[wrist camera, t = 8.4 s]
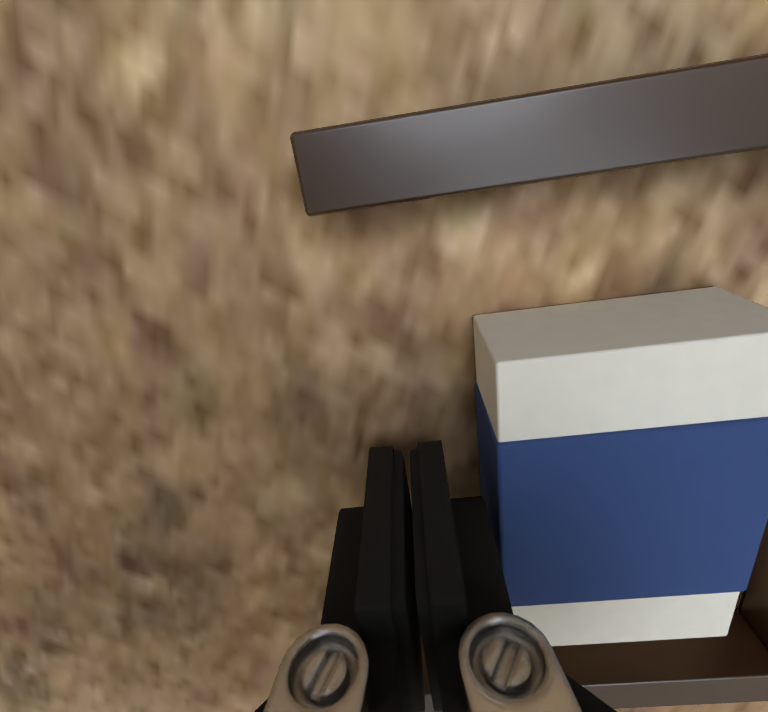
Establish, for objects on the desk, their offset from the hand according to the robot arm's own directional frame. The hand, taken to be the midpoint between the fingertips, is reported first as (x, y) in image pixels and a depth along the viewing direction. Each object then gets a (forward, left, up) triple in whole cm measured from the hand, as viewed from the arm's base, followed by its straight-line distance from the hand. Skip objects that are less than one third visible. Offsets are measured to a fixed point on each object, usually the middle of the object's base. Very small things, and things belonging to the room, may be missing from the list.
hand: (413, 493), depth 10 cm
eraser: (0, +4, -1) cm, 4 cm away
